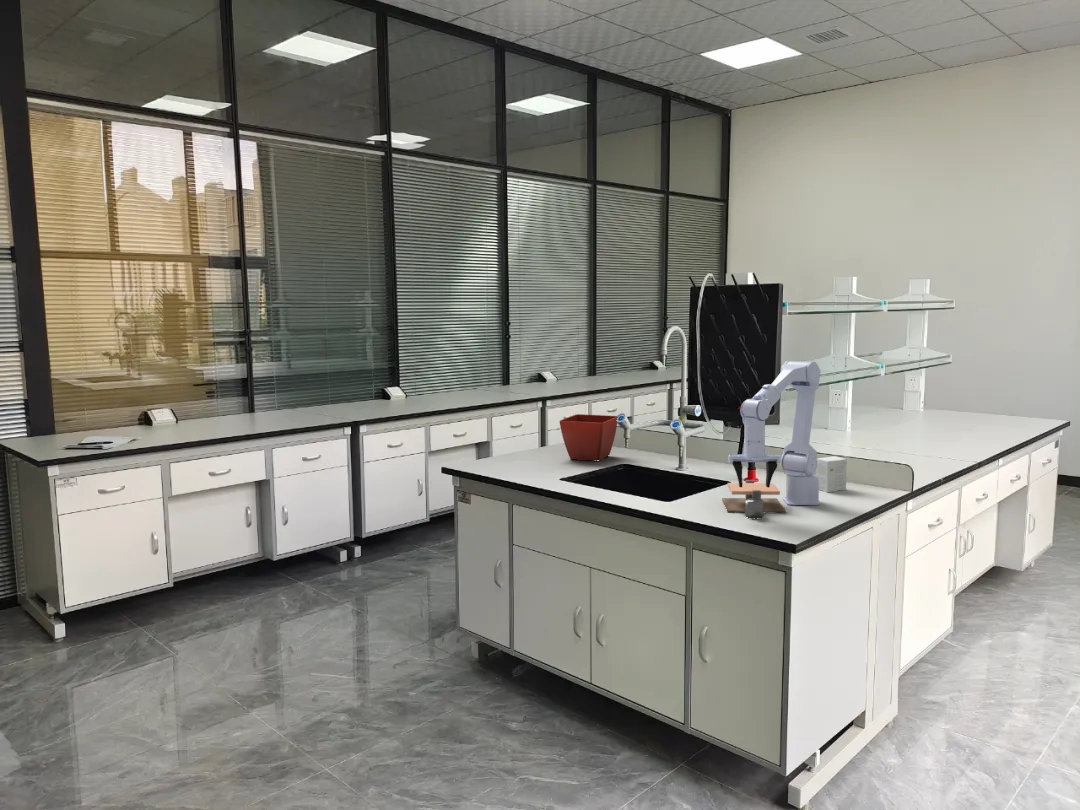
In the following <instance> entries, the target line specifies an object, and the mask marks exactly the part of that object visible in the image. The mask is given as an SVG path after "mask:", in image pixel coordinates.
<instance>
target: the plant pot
mask: <svg viewBox="0 0 1080 810" xmlns="http://www.w3.org/2000/svg"><path fill="white" fill-rule="evenodd" d="M617 418H618V419H619V416H618V415H607V414H606V415H605V414H604V415H601V414H586V413H585V414H584V413H583V414H580V413H579V414H574V415H570V416H569V417H565V418H564V419H560V420H559V426H560V431H561V435H562V439H563V443H564V445H565V448H566V451H567V453H568V454H567V455H568V456H569V459H570V460H571V459H577V460H576V461H582V460H601V459H602V458H604V457H606V456H608V455H609V456H610V454H611V451H612V449H613V445H614V441H615V436H616V432H617V427H618V422H617V421H616V420H617ZM609 456H608V457H609ZM606 458H607V457H606ZM604 459H605V458H604ZM602 460H603V459H602ZM602 460H601V461H602Z"/></svg>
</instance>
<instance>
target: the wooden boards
mask: <svg viewBox="0 0 1080 810" xmlns="http://www.w3.org/2000/svg"><path fill="white" fill-rule="evenodd" d="M745 483H755V480H754V479H746V480H745ZM748 498H757V499H762V500H763V512H786V513H787V509H785V507H784V506H783V504H781V502H780V500H779V498H777V497H776V498H775V497H771V498H770V497H769V498H768V497H767V498H766V497H765V498H762V495H761V491H760V490H752V495H745V497H744V498H743V497H727V498H726V497H722V498H721V501H722V503H723V505H725V506H724V507H726V508H725V510H726V509H727V510H726V512H727V513H731V512H745V499H748Z"/></svg>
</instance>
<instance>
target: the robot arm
mask: <svg viewBox="0 0 1080 810" xmlns="http://www.w3.org/2000/svg"><path fill="white" fill-rule="evenodd" d="M820 378H821V369H820V366H819V365H818V363H817V362H816V361H800V360H799V361H798V360H797V361H794V360H786V361H784V363H783V364H782V365H781V367H780V373H779V374H778V375H777V376H776V378H775V379H774V380H773V382H772V383H771V384H770V383H769V384H768V383H767V384H764V385H762V388H761V389H760V390H758V392H757V393H755V394H754V396H753V397H752V398H747V399H746V400H744V401H743V402H742V403H741V407H740V409H739V412H740V416H741V417H742V418H741V419H742V423H743V425H744V431H743V432H744V434H743V435H744V436H743V437H744V439H743V441H744V442H743V444H744V445H743V447H744V449H743V451H744V452H743V453H742V454H728V463H729V464H730V463H731V464H732V466H733V468H734V471H735V473H736V476H737V481H738V482H737V483H739V487H742V483H743V468H744V467H743V463H765V472H766V473H765V474H766V475H765V483H766V487H770V483H772V478H773V475H774V473H775V471H776V470H777V467H778V463H780V467H781V470H782V471H784V472H783V474H785V475H786V476H785V479H786V480H785V481H786V482H785V488H786V489H785V492H786V493H785V496H783V497H782V499H783V501H784V502H785V504H786V505H787V506H819V505H820V503H819V499H820V498H819V497H820V492H819V491H820V490H819V480H818V476H817V475H816V474H814V473H816V469H817V459H818V458H817V457H818V456H817V454H818V451H817V450H816V449H815V448H814V447H813V446H812V445H811V444H810V439H811V431H812V424H813V415H814V409H815V398H816V390H818V389H819V386H820ZM789 386H791V388H794V389H795V391H796V392H797V395H796V403H795V412H794V420H793V427H792V428H793V429H792V435H791V442H790V443H788V444H787V445H785V446H784V448H783V452H782V455H780V454H768V453H767V454H765V453H766V452H765V451H766V449H765V448H766V447H765V446H766V419H768V418H769V416H770V412H771V411H772V407H773V406H774V405H775V404H776V403H778V401H780V398H781V392H783V391H784V390H785V389H786V388H787V387H789ZM800 452H801V453H800Z"/></svg>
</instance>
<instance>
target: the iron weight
mask: <svg viewBox="0 0 1080 810" xmlns="http://www.w3.org/2000/svg"><path fill="white" fill-rule="evenodd" d="M745 516H746V517H748V518H747V519H749V518H755V519H754V520H758V519H757V518H761V519H763V518H762V517H764V513H763V500H762V499H757V498H748V499H745V513H744V517H745ZM746 517H745V518H746Z"/></svg>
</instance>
